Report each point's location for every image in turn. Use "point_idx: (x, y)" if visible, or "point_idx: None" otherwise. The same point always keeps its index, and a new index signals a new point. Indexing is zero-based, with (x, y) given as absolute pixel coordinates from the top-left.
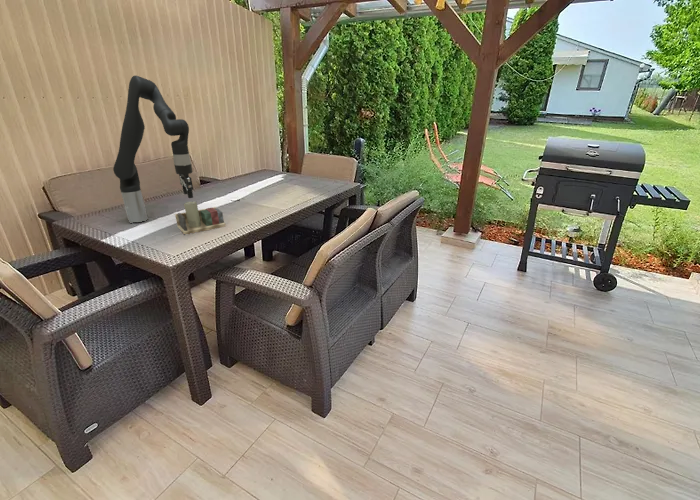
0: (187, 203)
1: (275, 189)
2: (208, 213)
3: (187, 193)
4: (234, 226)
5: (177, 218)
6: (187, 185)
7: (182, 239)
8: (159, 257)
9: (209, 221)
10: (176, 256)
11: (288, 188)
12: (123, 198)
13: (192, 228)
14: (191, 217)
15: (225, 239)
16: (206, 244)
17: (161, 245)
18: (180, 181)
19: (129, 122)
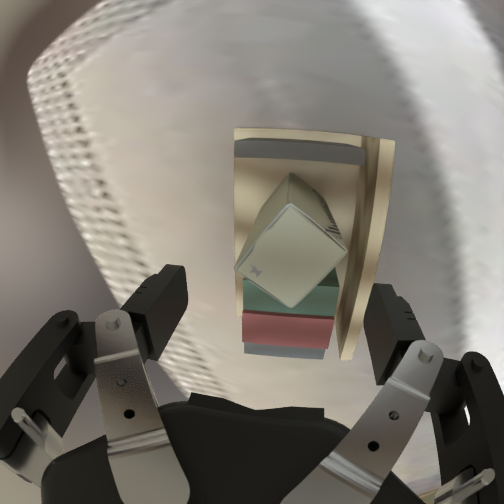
0: (282, 235)
1: (426, 464)
2: (247, 300)
3: (158, 291)
4: (217, 328)
5: (372, 144)
6: (23, 355)
7: (187, 109)
8: (81, 33)
9: None
10: (60, 81)
11: (405, 476)
12: None
13: (266, 180)
14: (269, 203)
15: (107, 250)
16: (93, 182)
17: (174, 28)
18: (488, 392)
19: None
